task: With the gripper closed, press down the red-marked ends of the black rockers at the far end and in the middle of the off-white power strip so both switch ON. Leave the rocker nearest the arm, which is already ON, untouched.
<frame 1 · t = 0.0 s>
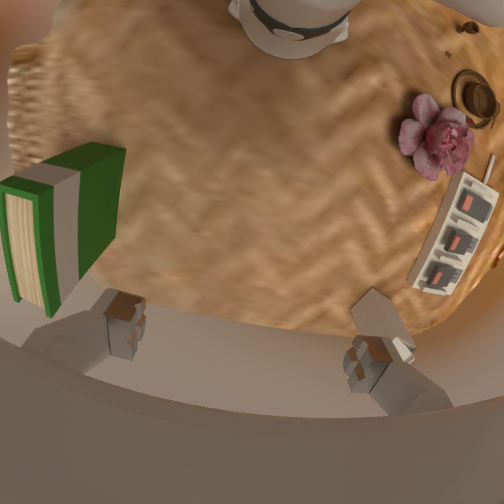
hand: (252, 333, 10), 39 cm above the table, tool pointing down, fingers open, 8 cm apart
flower: (423, 134, 41), on the table
milk carton: (370, 303, 60), on the table
power strip: (452, 233, 50), on the table
hardback book: (102, 191, 48), on the table
rocker middle: (458, 242, 46), point 5 cm above the table, hinge at -12.0°
rocker near arm: (474, 206, 42), point 5 cm above the table, hinge at 12.0°
place setting: (473, 81, 35), on the table
rocker far end: (441, 275, 50), point 5 cm above the table, hinge at -12.0°
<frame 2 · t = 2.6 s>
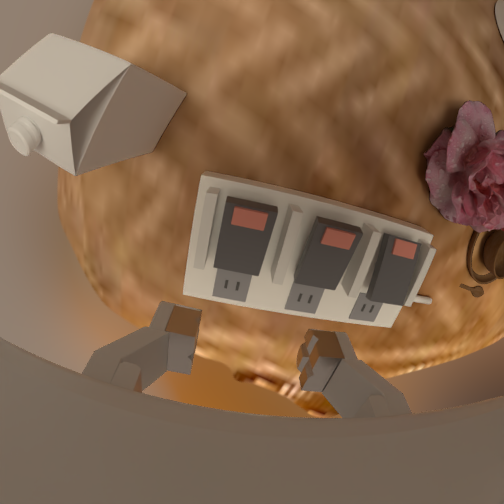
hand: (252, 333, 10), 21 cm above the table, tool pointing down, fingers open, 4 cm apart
flower: (458, 162, 28), on the table
milk carton: (142, 108, 26), on the table
power strip: (310, 253, 32), on the table
rocker middle: (326, 255, 27), point 5 cm above the table, hinge at -12.0°
rocker near arm: (393, 270, 28), point 5 cm above the table, hinge at 12.0°
place setting: (500, 249, 33), on the table
rocker far end: (243, 237, 26), point 5 cm above the table, hinge at -12.0°
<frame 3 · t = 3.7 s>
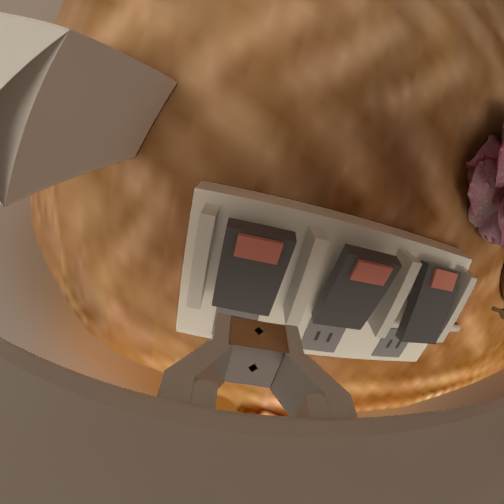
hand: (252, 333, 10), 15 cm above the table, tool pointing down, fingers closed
flower: (497, 173, 21), on the table
milk carton: (123, 102, 20), on the table
power strip: (330, 281, 26), on the table
rocker middle: (354, 290, 21), point 5 cm above the table, hinge at -12.0°
rocker near arm: (429, 304, 22), point 5 cm above the table, hinge at 12.0°
rocker far end: (250, 270, 20), point 5 cm above the table, hinge at -12.0°
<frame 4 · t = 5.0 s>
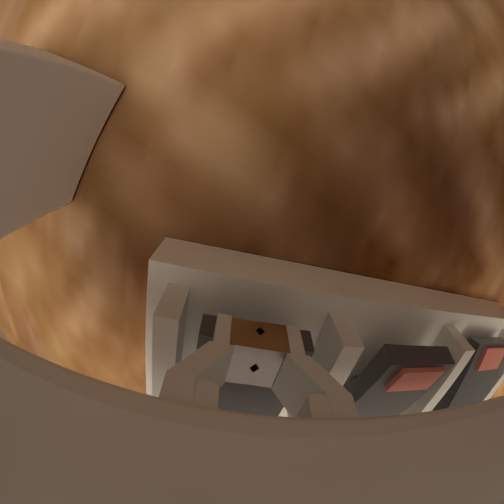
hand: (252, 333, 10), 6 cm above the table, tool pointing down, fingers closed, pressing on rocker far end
milk carton: (55, 121, 12), on the table
power strip: (348, 361, 18), on the table
rocker middle: (385, 391, 13), point 5 cm above the table, hinge at -12.0°
rocker near arm: (469, 384, 14), point 5 cm above the table, hinge at 12.0°
rocker far end: (240, 384, 12), point 5 cm above the table, hinge at -5.5°, touching gripper
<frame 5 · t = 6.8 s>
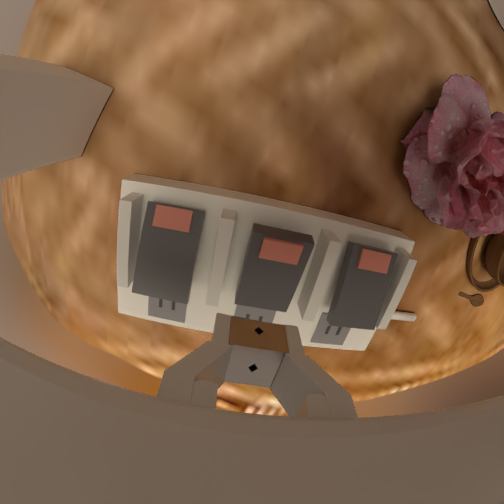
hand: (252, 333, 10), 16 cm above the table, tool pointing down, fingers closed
flower: (446, 152, 23), on the table
milk carton: (72, 109, 21), on the table
power strip: (261, 265, 28), on the table
rocker middle: (271, 270, 22), point 5 cm above the table, hinge at -12.0°
rocker near arm: (362, 287, 23), point 5 cm above the table, hinge at 12.0°
place setting: (503, 252, 29), on the table
rocker far end: (168, 252, 21), point 5 cm above the table, hinge at 23.8°
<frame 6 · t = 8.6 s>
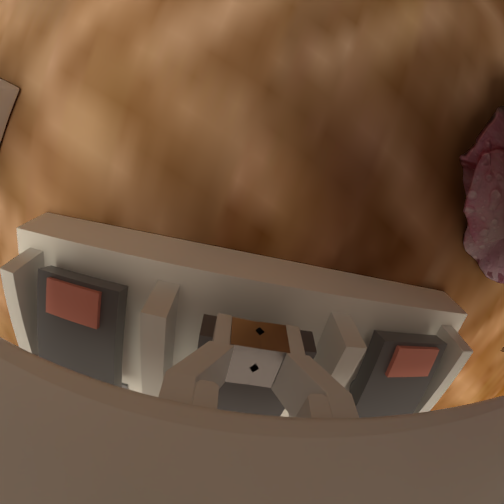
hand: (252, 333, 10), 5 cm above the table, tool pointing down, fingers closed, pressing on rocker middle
power strip: (236, 348, 18), on the table
rocker middle: (241, 384, 12), point 5 cm above the table, hinge at -5.5°, touching gripper
rocker near arm: (387, 393, 13), point 5 cm above the table, hinge at 12.0°
rocker far end: (79, 346, 12), point 5 cm above the table, hinge at 17.5°
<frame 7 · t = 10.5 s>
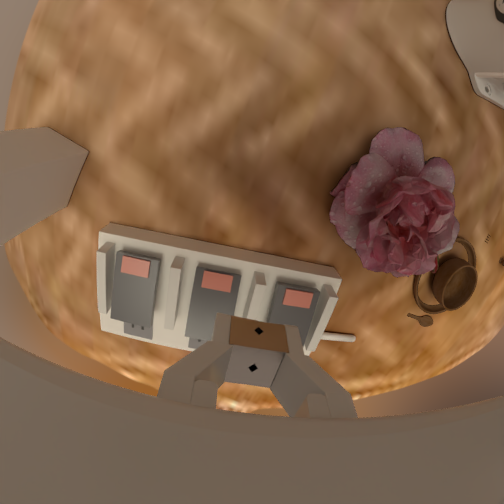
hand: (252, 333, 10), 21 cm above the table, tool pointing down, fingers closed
flower: (381, 196, 30), on the table
milk carton: (57, 165, 26), on the table
power strip: (212, 296, 34), on the table
rocker middle: (212, 305, 28), point 5 cm above the table, hinge at 23.9°
rocker near arm: (289, 318, 29), point 5 cm above the table, hinge at 12.0°
place setting: (456, 278, 36), on the table
rocker far end: (134, 289, 27), point 5 cm above the table, hinge at 15.1°
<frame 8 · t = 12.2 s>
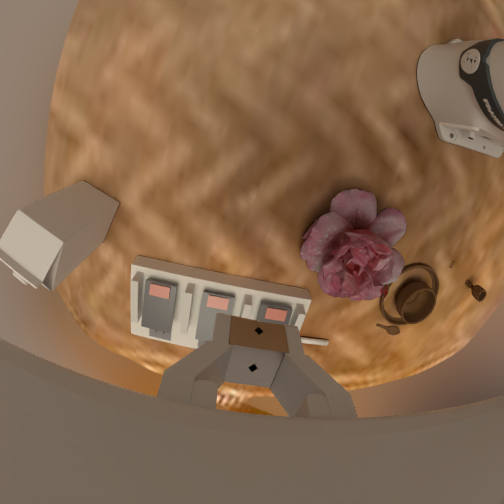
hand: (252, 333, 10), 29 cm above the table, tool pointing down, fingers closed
flower: (346, 235, 40), on the table
milk carton: (94, 210, 38), on the table
power strip: (215, 308, 45), on the table
rocker middle: (214, 317, 39), point 5 cm above the table, hinge at 18.1°
rocker near arm: (270, 327, 40), point 5 cm above the table, hinge at 12.0°
place setting: (421, 296, 46), on the table
rocker far end: (159, 305, 39), point 5 cm above the table, hinge at 14.2°
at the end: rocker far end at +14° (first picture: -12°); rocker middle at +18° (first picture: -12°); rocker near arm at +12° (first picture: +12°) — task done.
